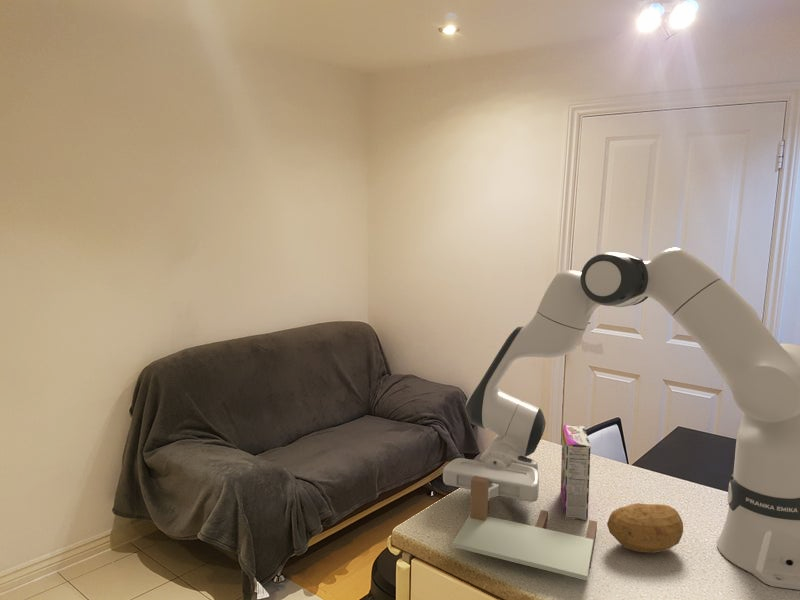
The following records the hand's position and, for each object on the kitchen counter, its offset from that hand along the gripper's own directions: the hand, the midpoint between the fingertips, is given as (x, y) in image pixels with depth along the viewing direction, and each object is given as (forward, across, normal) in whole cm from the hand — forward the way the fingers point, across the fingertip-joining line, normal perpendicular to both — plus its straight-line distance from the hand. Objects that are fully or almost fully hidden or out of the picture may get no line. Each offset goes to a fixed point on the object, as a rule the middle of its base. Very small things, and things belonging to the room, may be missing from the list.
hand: (481, 496), depth 110 cm
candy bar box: (-16, +16, +7) cm, 24 cm away
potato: (-6, +30, +7) cm, 31 cm away
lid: (+6, +10, +5) cm, 12 cm away
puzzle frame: (-2, +10, +7) cm, 12 cm away
